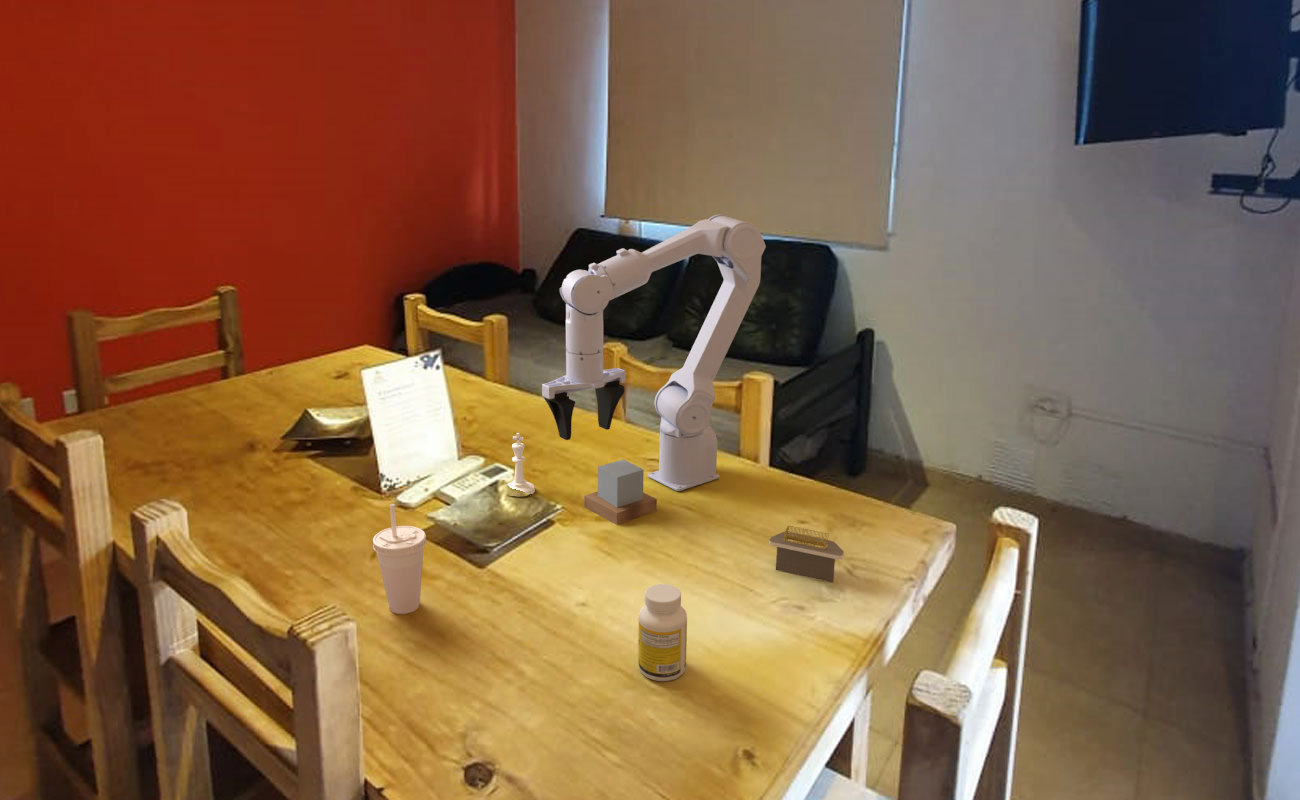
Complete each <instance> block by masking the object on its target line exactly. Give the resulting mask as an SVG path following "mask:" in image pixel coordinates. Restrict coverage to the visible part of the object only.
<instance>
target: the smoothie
mask: <svg viewBox="0 0 1300 800" xmlns="http://www.w3.org/2000/svg"><path fill="white" fill-rule="evenodd" d="M395 505H396V504H395V503H390V504H389V509H390V524H391V527H388V528H385V529H381V530H380V531H379V532H378V533H376V534H375V535H374V536H373V539H372V549H373V551H374V552H376V556H377V560H378V561H377V562H378V564H379V569H380V573H381V576H382V577H381V578H382V582H383V587H384V591H385V594H386V600H387V604H388V609H389V611H390V612H392V613H393V614H396V615H406V614H410V613H414V612H415V611H416V610H417V609H419V607H420V605H421V592H422V576H423V575H422V574H423V564H424V563H423V561H424V560H423V559H424V550H425V549H424V547H425V546H426V545H427V543H428V542H427V540H428V539H427V536H426V532H425V531H424V530H423V529H421V528H419V527H417V526H412V525H398V526H397V519H396V518H397V517H396V506H395Z"/></svg>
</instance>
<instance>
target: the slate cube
mask: <svg viewBox="0 0 1300 800" xmlns="http://www.w3.org/2000/svg"><path fill="white" fill-rule="evenodd" d="M644 472H645V469H644V468H641V467H639V466H638V465H636V464H633V462H632V463H631V462H630V461H627V460H626V459H621V460H617V461H614V462H609V463H605V464H603V465H602V464H601V465H598V466H597V491H598V497H600V498H602V499H603V500H605V501H607V502H608V503H610V504H612V505H613V506H615V507H621V506H624V505H627V504H630V503H633V502H636V501H640V500H643V493H644V478H645V477H644V474H645V473H644Z"/></svg>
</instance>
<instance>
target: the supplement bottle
mask: <svg viewBox="0 0 1300 800" xmlns="http://www.w3.org/2000/svg"><path fill="white" fill-rule="evenodd" d="M687 615H688V614H687V612H686V609H685V608H684V606H682V592H681V591H680V589H679V588H678V587H677V586H674V585H672V584H667V583H657V584H653V585H651V586H649V587H647V589H645V592H644V605H643V606H642V607H641V609H640V611H639V614H638V669H639V671H640V673H641V674H642V675H643V676H645V677H646V678H647V679H650V680H653V681H657V682H669V681H674V680H677V679H678V678H680V677H681V676H682V675H683V674H684V673H685V670H686V668H687V641H688V640H687V639H688V638H687V636H688V635H687V634H688V632H687V631H688V616H687Z"/></svg>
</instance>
